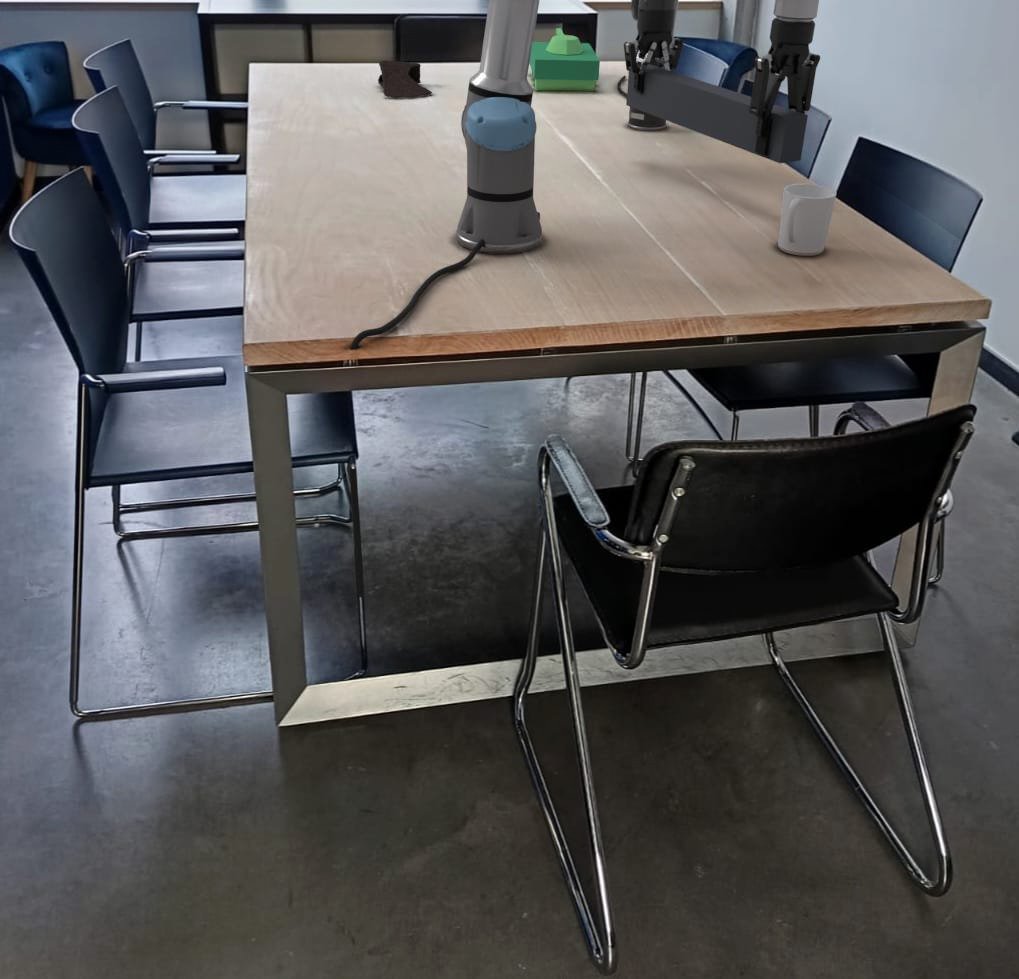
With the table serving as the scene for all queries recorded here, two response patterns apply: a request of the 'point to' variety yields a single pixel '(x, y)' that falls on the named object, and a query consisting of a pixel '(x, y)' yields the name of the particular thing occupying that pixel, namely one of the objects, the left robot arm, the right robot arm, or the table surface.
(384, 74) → the axe head
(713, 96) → the beam
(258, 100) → the table surface
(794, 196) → the mug
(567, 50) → the toy tank
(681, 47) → the right robot arm
